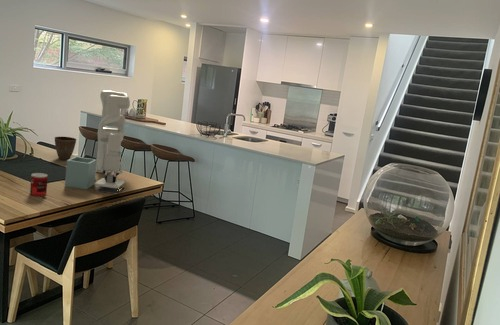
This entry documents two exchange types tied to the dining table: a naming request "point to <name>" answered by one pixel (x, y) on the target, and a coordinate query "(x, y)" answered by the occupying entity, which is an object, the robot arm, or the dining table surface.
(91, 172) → the tub
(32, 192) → the canned food
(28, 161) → the dining table surface
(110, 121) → the robot arm
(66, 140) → the plant pot
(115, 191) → the mat
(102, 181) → the lid
